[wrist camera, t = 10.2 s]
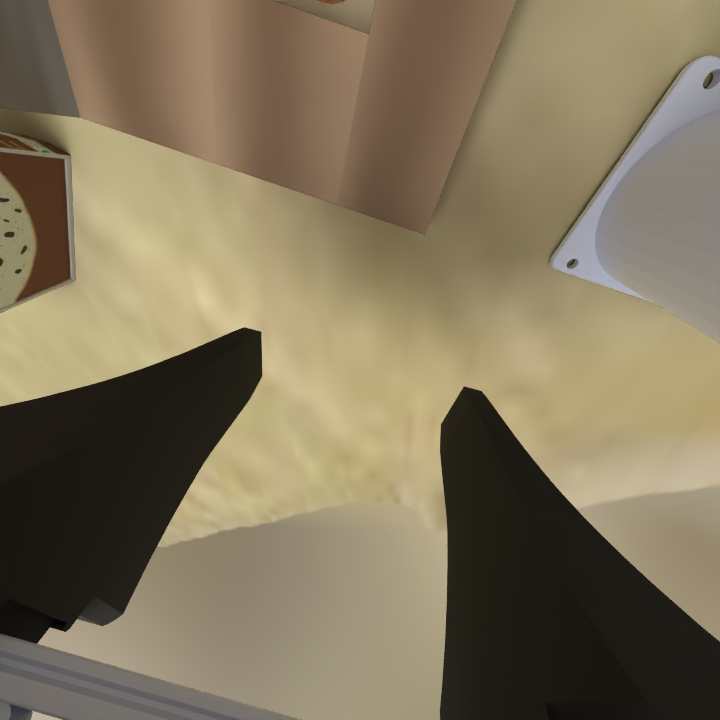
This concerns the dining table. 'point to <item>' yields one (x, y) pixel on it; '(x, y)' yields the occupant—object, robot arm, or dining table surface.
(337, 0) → the peg
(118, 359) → the dining table surface
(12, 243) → the food container
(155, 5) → the socket block
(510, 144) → the dining table surface
